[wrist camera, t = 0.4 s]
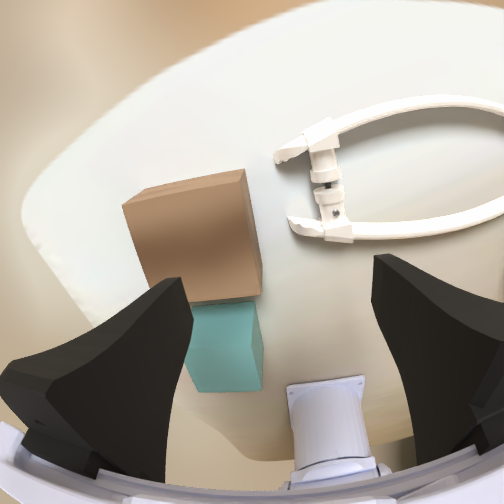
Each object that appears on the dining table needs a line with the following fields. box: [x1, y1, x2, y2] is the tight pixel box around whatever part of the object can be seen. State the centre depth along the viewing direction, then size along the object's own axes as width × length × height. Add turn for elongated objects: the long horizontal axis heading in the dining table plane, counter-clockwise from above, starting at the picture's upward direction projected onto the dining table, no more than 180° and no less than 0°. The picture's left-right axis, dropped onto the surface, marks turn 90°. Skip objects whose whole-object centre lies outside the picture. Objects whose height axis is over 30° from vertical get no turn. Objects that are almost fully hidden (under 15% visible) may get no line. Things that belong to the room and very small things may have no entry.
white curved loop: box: [274, 95, 504, 243], centre depth 16 cm, size 3×10×25 cm
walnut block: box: [122, 169, 262, 302], centre depth 19 cm, size 7×7×4 cm
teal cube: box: [184, 301, 263, 392], centre depth 22 cm, size 5×5×5 cm
